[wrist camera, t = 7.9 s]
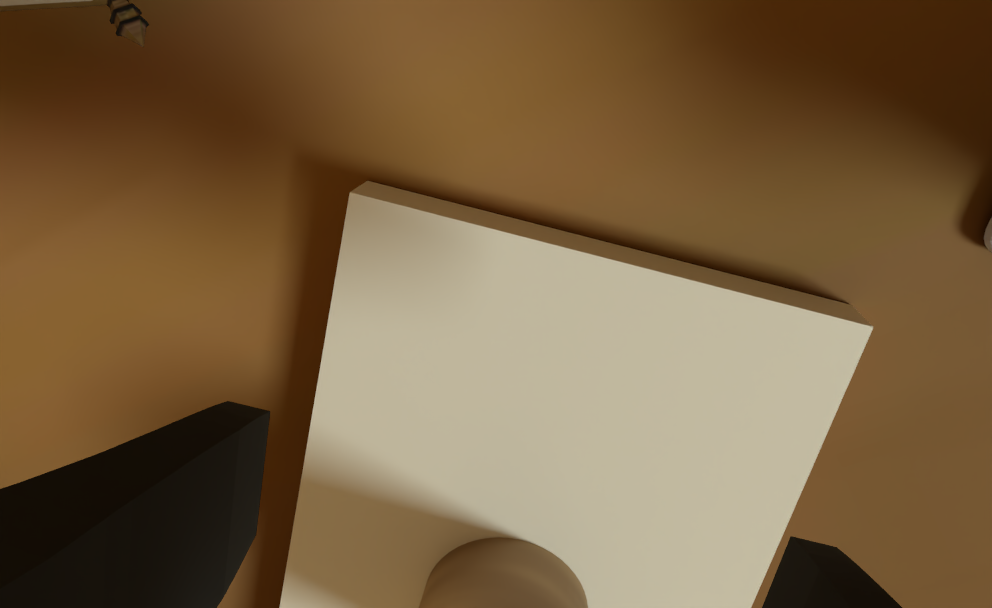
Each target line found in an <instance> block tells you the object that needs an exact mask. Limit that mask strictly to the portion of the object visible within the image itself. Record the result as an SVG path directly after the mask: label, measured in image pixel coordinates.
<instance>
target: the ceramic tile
mask: <svg viewBox="0 0 992 608" xmlns="http://www.w3.org/2000/svg"><path fill="white" fill-rule="evenodd" d="M872 329H873V326H872V325H871V324H870V323H869V322H868V321H867V320H866V319H865V318H864V317H863V316H862V315H861V314H860V313H859V312H858V311H857V310H856V309H855V308H854V307H853V306H852V305H850V304H846V303H842V302H838V301H834V300H830V299H827V298H823V297H819V296H815V295H811V294H807V293H803V292H799V291H795V290H791V289H788V288H784V287H780V286H776V285H772V284H768V283H764V282H760V281H756V280H753V279H749V278H745V277H741V276H737V275H733V274H729V273H725V272H721V271H717V270H714V269H710V268H706V267H702V266H698V265H694V264H690V263H686V262H682V261H679V260H675V259H671V258H667V257H663V256H659V255H655V254H651V253H647V252H643V251H640V250H636V249H632V248H628V247H624V246H620V245H616V244H612V243H608V242H605V241H601V240H597V239H593V238H589V237H585V236H581V235H577V234H573V233H569V232H566V231H562V230H558V229H554V228H550V227H546V226H542V225H538V224H534V223H531V222H527V221H523V220H519V219H515V218H511V217H507V216H503V215H499V214H496V213H492V212H488V211H484V210H480V209H476V208H472V207H468V206H464V205H460V204H457V203H453V202H449V201H445V200H441V199H437V198H433V197H429V196H425V195H422V194H418V193H414V192H410V191H406V190H402V189H398V188H394V187H390V186H386V185H383V184H379V183H375V182H371V181H366V182H365V183H363V184H362V185H360V186H359V187H357V188H355V189H354V190H352V191H351V192H350V194H349V199H348V205H347V211H346V217H345V223H344V229H343V235H342V241H341V247H340V253H339V259H338V264H337V270H336V276H335V282H334V288H333V294H332V300H331V306H330V312H329V318H328V323H327V329H326V335H325V341H324V347H323V353H322V359H321V365H320V371H319V377H318V383H317V388H316V394H315V400H314V406H313V412H312V418H311V424H310V430H309V436H308V442H307V448H306V453H305V459H304V465H303V471H302V477H301V483H300V489H299V495H298V501H297V507H296V512H295V518H294V524H293V530H292V536H291V542H290V548H289V554H288V560H287V566H286V572H285V577H284V583H283V589H282V595H281V601H280V607H279V608H419V605H420V602H421V599H422V596H423V593H424V589H425V586H426V583H427V580H428V578H429V576H430V573H431V571H432V570H433V569H434V567H435V566H436V564H437V563H438V562H439V561H440V560H441V559H442V558H443V557H444V556H445V555H446V554H448V553H449V552H450V551H452V550H454V549H455V548H457V547H459V546H461V545H463V544H466V543H468V542H471V541H475V540H479V539H485V538H498V537H500V538H512V539H518V540H523V541H526V542H529V543H533V544H535V545H537V546H540V547H542V548H544V549H546V550H548V551H549V552H551V553H553V554H554V555H555V556H557V557H558V558H560V559H561V560H562V561H563V562H564V563H565V564H566V565H567V566H569V568H570V569H571V570H572V571H573V572H574V574H575V575H576V576H577V578H578V580H579V581H580V583H581V585H582V587H583V589H584V592H585V595H586V598H587V603H588V608H751V606H752V604H753V602H754V600H755V597H756V595H757V593H758V590H759V588H760V586H761V584H762V581H763V579H764V577H765V574H766V572H767V570H768V568H769V565H770V563H771V561H772V558H773V556H774V554H775V551H776V549H777V547H778V545H779V542H780V540H781V538H782V535H783V533H784V531H785V529H786V526H787V524H788V522H789V519H790V517H791V515H792V513H793V510H794V508H795V506H796V503H797V501H798V499H799V497H800V494H801V492H802V490H803V487H804V485H805V483H806V480H807V478H808V476H809V474H810V471H811V469H812V467H813V464H814V462H815V460H816V458H817V455H818V453H819V451H820V448H821V446H822V444H823V442H824V439H825V437H826V435H827V432H828V430H829V428H830V426H831V423H832V421H833V419H834V416H835V414H836V412H837V409H838V407H839V405H840V403H841V400H842V398H843V396H844V393H845V391H846V389H847V387H848V384H849V382H850V380H851V377H852V375H853V373H854V371H855V368H856V366H857V364H858V361H859V359H860V357H861V355H862V352H863V350H864V348H865V345H866V343H867V341H868V338H869V336H870V334H871V332H872Z"/></svg>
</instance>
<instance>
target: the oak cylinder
mask: <svg viewBox="0 0 992 608" xmlns="http://www.w3.org/2000/svg"><path fill="white" fill-rule="evenodd" d="M419 608H588V603H587V598H586V595H585V592H584V589H583V587H582V585H581V583H580V581H579V580H578V578H577V576H576V575H575V574H574V572H573V571H572V570H571V569H570V568H569V566H567V565H566V564H565V563H564V562H563V561H562V560H561V559H560V558H558V557H557V556H555V555H554V554H553V553H551V552H549V551H548V550H546V549H544V548H542V547H540V546H537V545H535V544H533V543H529V542H526V541H523V540H518V539H512V538H500V537H498V538H485V539H479V540H475V541H471V542H468V543H466V544H463V545H461V546H459V547H457V548H455V549H454V550H452V551H450V552H449V553H448V554H446V555H445V556H444V557H443V558H442V559H441V560H440V561H439V562H438V563H437V564H436V566H435V567H434V569H433V570H432V571H431V573H430V576H429V578H428V580H427V583H426V586H425V589H424V593H423V596H422V599H421V602H420V605H419Z"/></svg>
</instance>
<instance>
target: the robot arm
mask: <svg viewBox="0 0 992 608" xmlns="http://www.w3.org/2000/svg"><path fill="white" fill-rule="evenodd" d="M984 242H985V246H986V247H987V249H988V250H989V251H990V252H991V253H992V217H991V219H990V221H989V223H988V226H987V228H986V230H985V234H984ZM269 418H270V411H267V410H262V409H258V408H254V407H250V406H246V405H242V404H237V403H233V402H229V401H227V402H224V403H221V404H218V405H215V406H212V407H210V408H207V409H205V410H202V411H200V412H197V413H195V414H192V415H190V416H188V417H185V418H183V419H181V420H178V421H176V422H173V423H171V424H169V425H166V426H164V427H162V428H159V429H157V430H155V431H152V432H150V433H147V434H145V435H143V436H140V437H138V438H135V439H133V440H130V441H128V442H126V443H123V444H121V445H118V446H116V447H114V448H111V449H109V450H106V451H104V452H101V453H99V454H96V455H94V456H91V457H88V458H85V459H83V460H80V461H77V462H75V463H72V464H69V465H66V466H64V467H61V468H58V469H56V470H53V471H50V472H47V473H45V474H42V475H39V476H37V477H34V478H31V479H28V480H26V481H23V482H20V483H17V484H14V485H11V486H8V487H5V488H2V489H0V608H217V606H218V605H219V603H220V602H221V600H222V599H223V597H224V595H225V593H226V592H227V590H228V588H229V586H230V584H231V582H232V580H233V579H234V577H235V575H236V573H237V571H238V569H239V567H240V565H241V563H242V561H243V559H244V557H245V555H246V553H247V551H248V549H249V547H250V546H251V544H252V542H253V540H254V538H255V536H256V531H257V522H258V514H259V505H260V496H261V487H262V479H263V470H264V461H265V453H266V444H267V435H268V427H269ZM762 608H902V607H901V606H900V605H899V604H898V603H897V602H896V601H895V600H894V599H893V598H892V597H891V596H890V595H889V594H888V593H887V592H886V591H885V590H884V589H882V588H881V587H880V586H879V585H878V584H877V583H876V582H875V581H874V580H873V579H872V578H871V577H870V576H869V575H868V574H867V573H866V572H865V571H863V570H862V569H861V568H860V567H859V566H858V565H857V564H856V563H855V562H854V561H852V560H851V559H850V558H849V557H848V556H847V555H845V554H844V553H843V552H842V551H840V550H839V549H838V548H837V547H833V546H829V545H825V544H821V543H816V542H812V541H808V540H804V539H800V538H796V537H790V540H789V542H788V545H787V547H786V550H785V552H784V555H783V557H782V560H781V562H780V565H779V567H778V569H777V572H776V574H775V577H774V579H773V582H772V584H771V587H770V589H769V592H768V594H767V597H766V599H765V602H764V604H763V607H762Z"/></svg>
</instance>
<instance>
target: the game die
mask: <svg viewBox="0 0 992 608" xmlns="http://www.w3.org/2000/svg"><path fill="white" fill-rule="evenodd" d="M101 5H107V6H108V7H109V8H110V10H111V18H110V22H111V24H115V26H116V28H117V31H116V35H117V36H124V37H126V38H128V39H129V40H131V41H133V42H135V43H137V44H139V45H140V46H142V47H144V41H145V32H146V27H147V26H148V25H149V24H148V22H147V21H146V20H145V19H144V18H142V17H141V16H140V14H141V11H140V10H139V9H138V8H137V7H136V6H135V5H134V4H133V3H132V4H130V3H129V1H128V0H0V11H16V10H33V9H50V8H67V7H84V6H101Z"/></svg>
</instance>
